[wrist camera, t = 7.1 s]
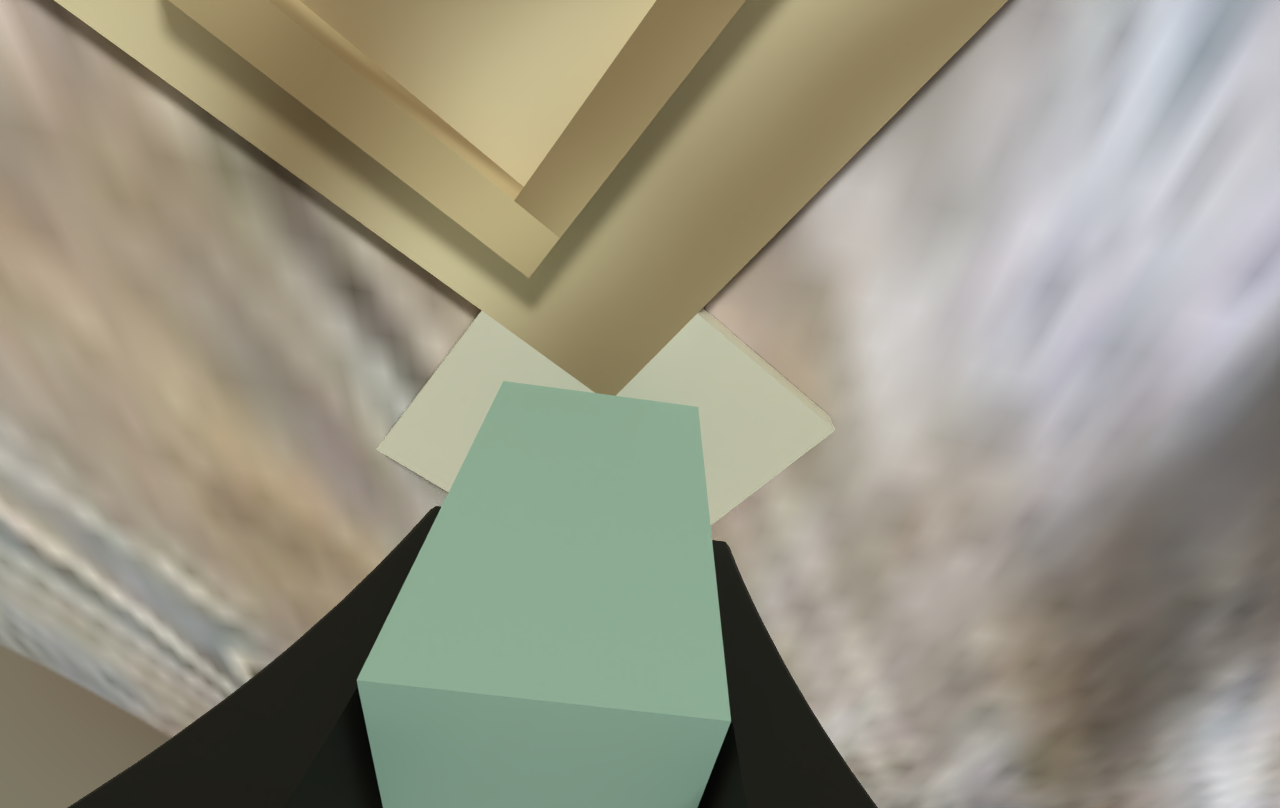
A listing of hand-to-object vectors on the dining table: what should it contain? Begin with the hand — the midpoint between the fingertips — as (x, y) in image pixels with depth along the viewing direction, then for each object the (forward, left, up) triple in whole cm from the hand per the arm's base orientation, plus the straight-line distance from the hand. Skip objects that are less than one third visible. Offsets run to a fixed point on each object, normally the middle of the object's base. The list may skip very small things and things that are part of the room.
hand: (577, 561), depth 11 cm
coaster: (0, 0, -4) cm, 4 cm away
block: (0, 0, -2) cm, 3 cm away
